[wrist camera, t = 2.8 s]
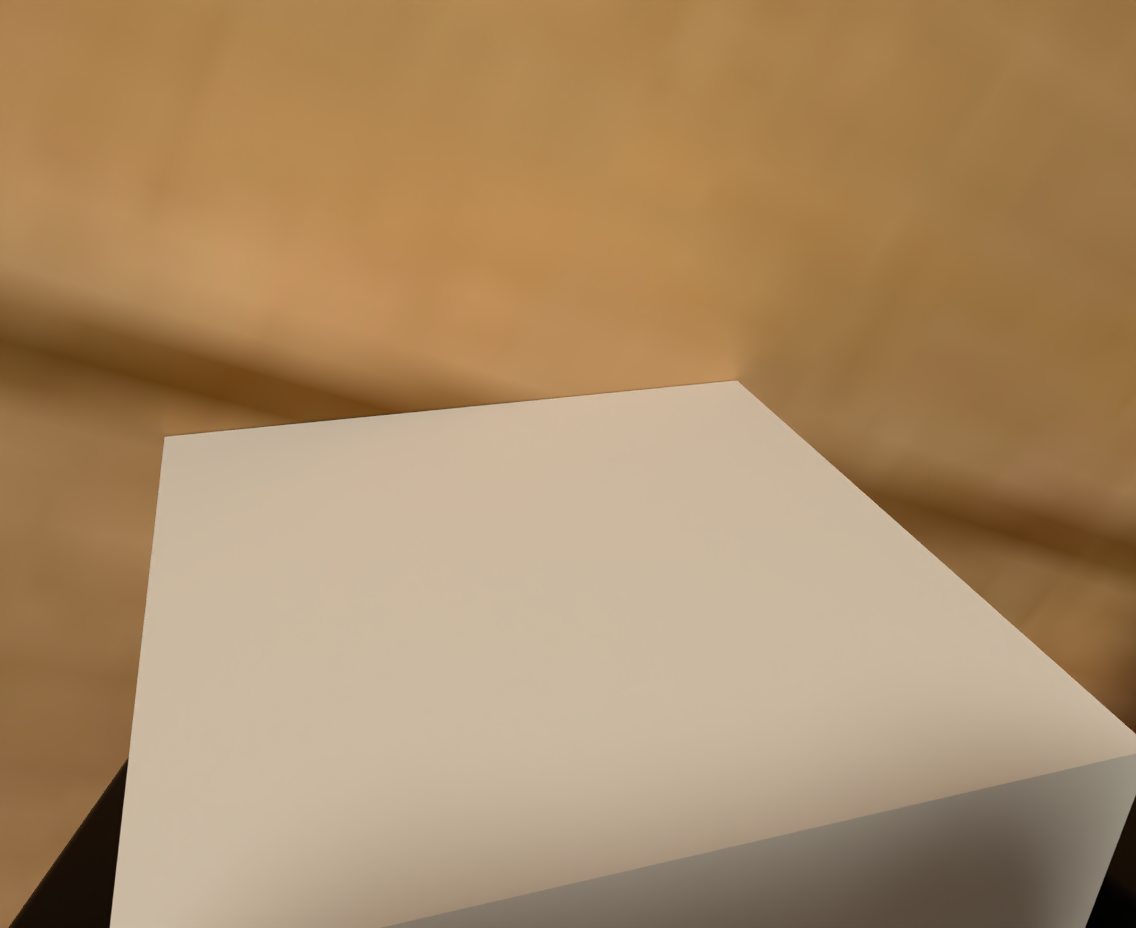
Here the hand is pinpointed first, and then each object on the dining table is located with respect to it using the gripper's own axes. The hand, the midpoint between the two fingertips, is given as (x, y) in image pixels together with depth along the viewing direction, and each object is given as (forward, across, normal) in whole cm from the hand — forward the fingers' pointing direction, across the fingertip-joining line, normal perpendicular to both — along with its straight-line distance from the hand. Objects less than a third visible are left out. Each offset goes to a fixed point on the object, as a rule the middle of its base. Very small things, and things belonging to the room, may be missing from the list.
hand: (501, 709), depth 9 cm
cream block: (+1, 0, 0) cm, 1 cm away
